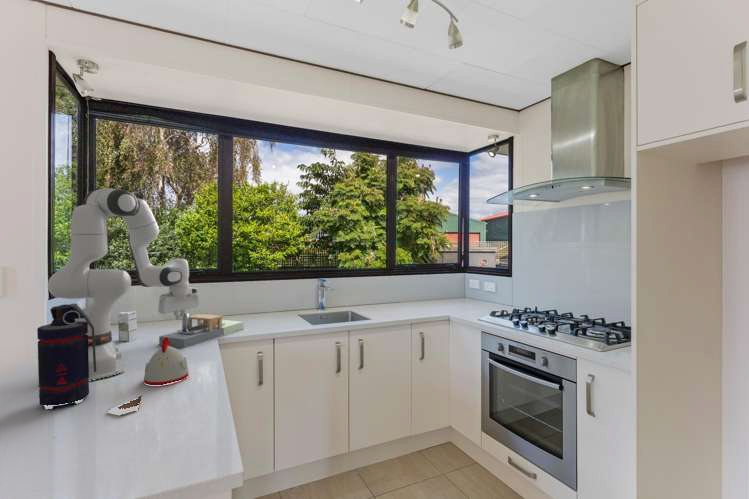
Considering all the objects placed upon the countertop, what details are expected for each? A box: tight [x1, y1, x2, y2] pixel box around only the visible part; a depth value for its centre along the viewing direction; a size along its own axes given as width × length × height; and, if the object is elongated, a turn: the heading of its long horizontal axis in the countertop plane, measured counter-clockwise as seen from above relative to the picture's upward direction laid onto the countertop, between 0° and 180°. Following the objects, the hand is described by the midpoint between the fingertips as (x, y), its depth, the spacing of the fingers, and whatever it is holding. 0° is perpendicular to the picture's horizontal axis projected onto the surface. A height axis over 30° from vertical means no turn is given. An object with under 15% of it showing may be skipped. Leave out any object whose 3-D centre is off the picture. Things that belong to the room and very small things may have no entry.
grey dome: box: [143, 337, 189, 385], centre depth 133 cm, size 14×14×15 cm
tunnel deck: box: [158, 313, 245, 349], centre depth 193 cm, size 40×16×10 cm, turn 158°
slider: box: [176, 311, 225, 334], centre depth 191 cm, size 22×10×10 cm, turn 158°
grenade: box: [36, 303, 96, 406], centre depth 114 cm, size 14×12×30 cm
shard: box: [118, 394, 143, 409], centre depth 110 cm, size 11×8×2 cm
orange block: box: [202, 319, 218, 328], centre depth 197 cm, size 5×5×4 cm
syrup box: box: [117, 310, 138, 342], centre depth 186 cm, size 6×6×14 cm
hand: (179, 319), depth 179 cm, fingers closed
